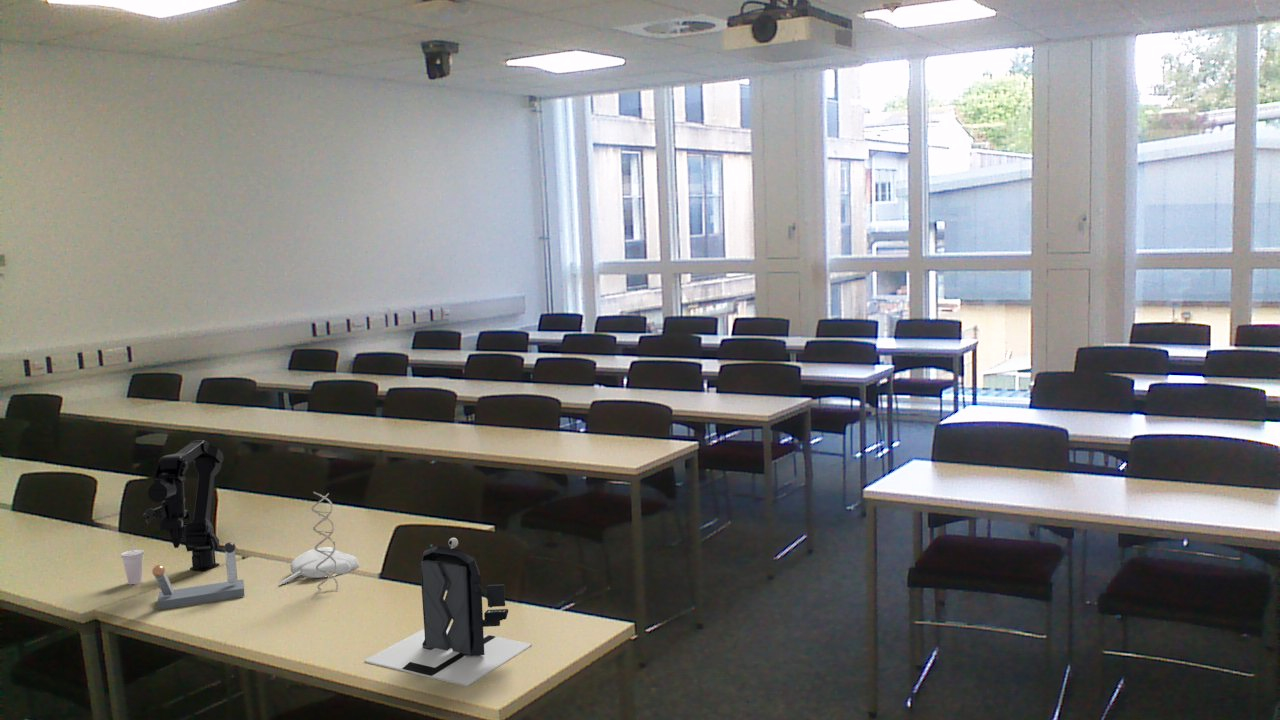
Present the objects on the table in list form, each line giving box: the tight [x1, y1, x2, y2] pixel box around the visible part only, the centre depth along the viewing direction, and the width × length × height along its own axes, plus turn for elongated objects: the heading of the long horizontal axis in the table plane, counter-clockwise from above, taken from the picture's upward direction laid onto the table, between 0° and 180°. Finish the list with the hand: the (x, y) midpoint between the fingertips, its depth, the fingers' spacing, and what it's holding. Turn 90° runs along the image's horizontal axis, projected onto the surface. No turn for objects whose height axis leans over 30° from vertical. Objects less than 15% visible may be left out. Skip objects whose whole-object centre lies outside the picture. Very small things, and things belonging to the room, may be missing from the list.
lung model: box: [279, 546, 360, 584], centre depth 304 cm, size 7×17×25 cm
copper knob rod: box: [151, 564, 175, 596], centre depth 277 cm, size 3×3×12 cm
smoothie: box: [120, 538, 145, 586], centre depth 301 cm, size 6×6×14 cm
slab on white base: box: [364, 537, 533, 687], centre depth 238 cm, size 32×25×28 cm
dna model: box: [311, 491, 339, 591], centre depth 287 cm, size 7×6×30 cm
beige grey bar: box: [223, 542, 239, 584], centre depth 288 cm, size 3×3×12 cm
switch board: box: [156, 578, 245, 611], centre depth 285 cm, size 9×23×2 cm, turn 113°
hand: (176, 547), depth 296 cm, fingers closed
